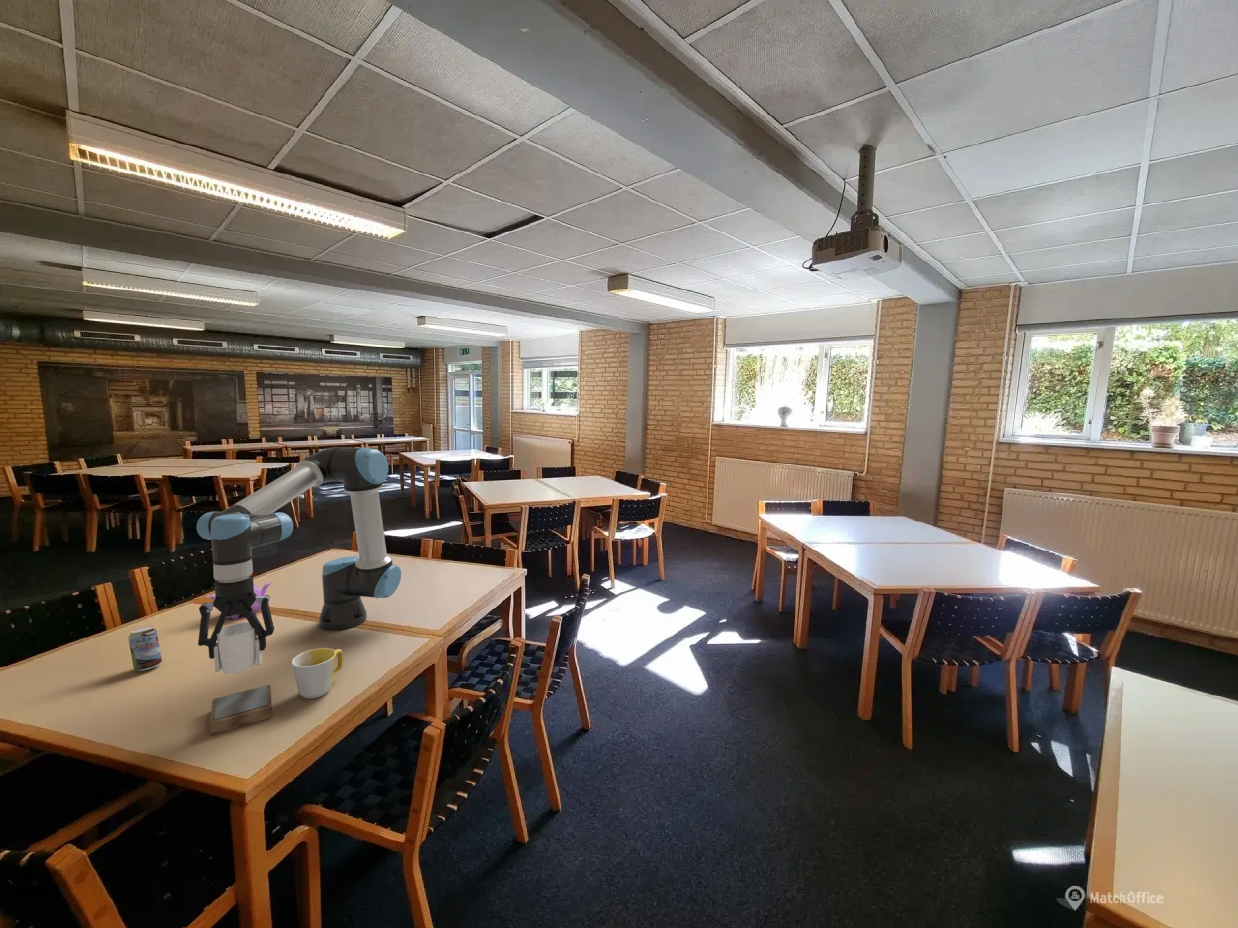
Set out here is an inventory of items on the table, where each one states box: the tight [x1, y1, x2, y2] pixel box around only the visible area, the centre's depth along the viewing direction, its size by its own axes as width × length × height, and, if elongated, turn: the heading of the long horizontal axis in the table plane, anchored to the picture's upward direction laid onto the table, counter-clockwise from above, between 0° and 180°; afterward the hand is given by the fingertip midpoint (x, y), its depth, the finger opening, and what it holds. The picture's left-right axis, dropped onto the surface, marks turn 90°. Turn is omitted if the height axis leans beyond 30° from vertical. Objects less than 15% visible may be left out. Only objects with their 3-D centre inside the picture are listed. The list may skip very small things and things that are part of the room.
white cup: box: [216, 621, 257, 675], centre depth 122 cm, size 8×8×10 cm
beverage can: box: [128, 625, 163, 672], centre depth 144 cm, size 6×7×12 cm
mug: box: [291, 647, 344, 700], centre depth 135 cm, size 14×10×10 cm
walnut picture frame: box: [209, 684, 273, 736], centre depth 124 cm, size 12×12×3 cm
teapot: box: [205, 582, 273, 621], centre depth 182 cm, size 15×13×11 cm
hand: (239, 665), depth 123 cm, fingers closed on white cup, 7 cm apart
